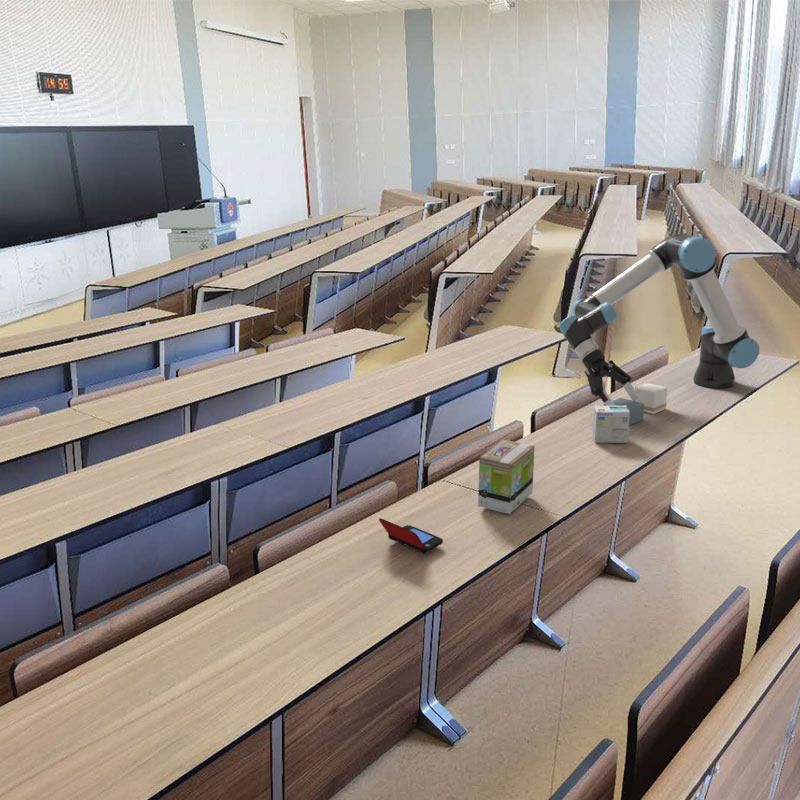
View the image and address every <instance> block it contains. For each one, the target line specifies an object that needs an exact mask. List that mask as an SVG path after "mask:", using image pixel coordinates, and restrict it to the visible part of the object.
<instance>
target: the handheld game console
mask: <svg viewBox="0 0 800 800" xmlns="http://www.w3.org/2000/svg"><path fill="white" fill-rule="evenodd" d="M378 521H379V522H380V524H381V526H382V527H383V528H384V530H385V531H386V533H387V534H388V535H387V537H388V539H390V540H391V541H394V542H397V543H399V544H401V545H404V544H406V545H405V546H407V545H408V547H409V548H410V547H411V549H412V550H414V549H415V550H414V551H417V552H419V553H422V554H425V555H426V554H427V553H429V552H431V551H432V550H434V549H436V548H437V547H439V546H441V545H443V542H444V539H443V538H441V537H440V536H437V535H435V534H432V533H430V532H428V531H425V530H422V529H420V528H419V527H415V526H413V525H409V524H407V525H404V526H401V525H398V524H396V523H393V522H391V521H389V520H387V519H384V518H378Z"/></svg>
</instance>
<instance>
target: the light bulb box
mask: <svg viewBox="0 0 800 800" xmlns="http://www.w3.org/2000/svg"><path fill="white" fill-rule="evenodd" d="M629 415H630V412H629V410H628V408H627V406H626V405H623V406H603V405H597V404H595V405H593V423H592V424H593V427H592V430H593V431H592V432H593V433H592V436H593V440H594V442H595V443H606V444H607V443H614V444H615V443H617V444H619V443H621V444H622V443H623V444H624V443H626V444H627V443H629V429H630V425H629Z"/></svg>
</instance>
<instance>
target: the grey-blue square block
mask: <svg viewBox="0 0 800 800" xmlns="http://www.w3.org/2000/svg"><path fill="white" fill-rule="evenodd" d="M612 401H613V402H614V404H615V405H616V406H623V405H626V406H627V408H628V410H629V412H630V415H629V426H632V425H633V424H637V423H640V422H641V421H644V415H645V414H644V413H645V412H644V403H639V402H635V401H633V400H632V399H631V400H630V399H627V398H623V397H619V398H616V399H612ZM602 406H606V404H605V403H603V405H602Z"/></svg>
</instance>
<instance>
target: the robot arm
mask: <svg viewBox="0 0 800 800" xmlns="http://www.w3.org/2000/svg"><path fill="white" fill-rule="evenodd" d="M716 257H717V252H716V249H715V246H714V244H713V243H712V242H711V241H710V240H709V239H706V238H705V237H702V236H698V235H690V234H686V233H676V234H673V235H669V237H666V238H665V239H663V240H661V241H660V242H659V243H657V244H655V245H654V246H653V247H651V249H649V250H647V253H646V255H645V256H644V257H643V258H640V260H637V262H635V263H634V264H632V265H631V266H629V267H628V268H627V269H625V270H624V271H623V272H622V273H620V274H619V275H617V276H616V277H614V278H613V279H612V280H610V281H609V282H607V283H606V284H605V285H603V286H602V287H601V288H599V289H598V290H596V291H594V293H592V294H591V295H590V296H588V297H586V298H582V299H578V300H576V301H575V302H574V303H573V305H572V309H571V310H572V311H571V312H572V314H571V315H569V316H566V317H565V318H564V319H563V320H562V321H561V322H560V323H559V326H558V328H559V330H560V332H561V333H562V335H563V337H564V338H565V339H566V341H567V342H568V344H569V346H571V348H572V349H573V351H574V352H575V353H576V355H577V356H578V358H579V359H580V360H581V363H582V364H583V365H584V367H585V368H586V369H585V370H584V374H585V376H586V378H587V381H588V385H589V390H590V392H591V395H593V396H595V397H599V399H600V400H601V401H602V402H603V404H606V406H616V405H615V404H614V402H613V399H612V398H611V396H610V395H609V394H608V393H607V391H606V390H604V383H603V378H605V377H607V378H611V379H613V380H614V381H616V382H618V383H619V384H621V385H622V388H623V390H624V391H625V392H626V393H627V395H628V396H629V398H630V399H631V401H635V400H636V399H638V398H639V396H638V394H637V393H636V391H635V387H634V386H633V385H632V384H631V381H632V379H633V378H632V376H631V375H629V374H628V373H627V372H625V371H624V370H623V369H622V368H621V367H620V366H618V365H617V364H616V363H615V362H614V361H613V360H611V359H610V360H608V362H607V361H606V360H605V358H606V356H605V354H604V353H603V351H602V350H601V349H600V348H599V345H598V344H597V343H596V342H595V340H594V339H593V337H592V335H594V334H595V333H596V332H599V331H600V330H602V329H604V328H606V327H607V326H610V325H611V324H612V323H614V321H617V318H618V314H617V311H616V310H615V308H614V306H613V305H614V304H615V303H617V302H618V301H620V300H621V299H622V298H624V297H625V296H627V295H628V294H629V293H631V292H632V291H634V290H635V289H637V288H638V287H639V286H641V285H642V284H644V283H645V282H646V281H648V280H649V279H650V278H652V277H654V276H655V275H656V274H658V273H659V272H660V273H663V272H666V270H668V269H670V268H672V267H677V268H678V269H679V271H680V273H681V275H682V278H683V279H684V280H685V281H687V282H690V284H691V286H692V288H693V290H694V292H695V294H696V297H697V298H698V300H699V303H700V305H701V307H702V309H703V311H704V313H705V316H706V317H707V320H708V322H709V325H705V326H703V327H702V329H701V334H700V337H701V338H700V348H699V349H700V351H699V363H698V366H697V367H696V370H695V373H694V375H693V381H694V382H693V384H696V385H698V386H701V387H705V388H713V389H714V388H716V389H719V388H721V389H723V388H730V387H733V386H734V385H735V383H736V377H735V373H734V369H733V368H737V369H746V368H748V367H750V366H752V365H753V364H754V363H755V362H756V361H757V359H758V356H759V355H760V350H761V349H760V345H759V343H758V342H757V341H756V340H755V339H754V338H752V337H750V335H749V333H748V331H747V329H746V327H745V325H744V324H739V322H738V320H737V318H736V315H735V314H734V311H733V309H732V307H731V304H730V302H729V301H728V299H727V296H726V293H725V291H724V289H723V287H722V285H721V282H720V281H719V279H718V275H716V272H715V269H716V267H717V263H716V260H715V258H716Z"/></svg>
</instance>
